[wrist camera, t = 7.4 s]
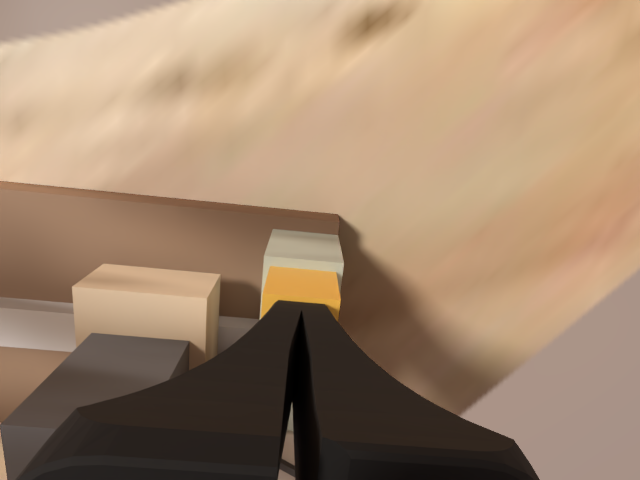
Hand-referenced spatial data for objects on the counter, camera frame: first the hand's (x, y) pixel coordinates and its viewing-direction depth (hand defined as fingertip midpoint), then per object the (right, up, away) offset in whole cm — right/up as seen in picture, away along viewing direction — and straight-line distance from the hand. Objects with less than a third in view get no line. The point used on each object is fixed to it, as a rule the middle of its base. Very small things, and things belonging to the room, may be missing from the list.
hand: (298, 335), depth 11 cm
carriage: (-5, -1, +4) cm, 7 cm away
